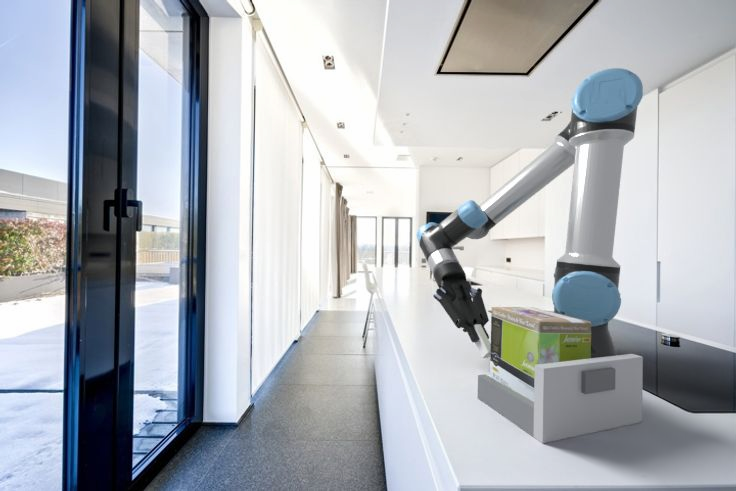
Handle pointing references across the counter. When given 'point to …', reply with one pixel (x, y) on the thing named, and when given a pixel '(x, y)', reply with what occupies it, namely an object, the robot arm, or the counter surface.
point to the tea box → (533, 344)
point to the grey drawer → (572, 397)
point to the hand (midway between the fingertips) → (488, 354)
